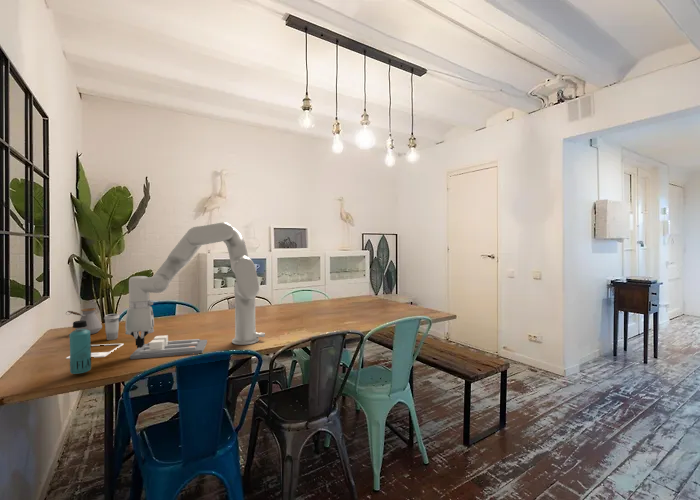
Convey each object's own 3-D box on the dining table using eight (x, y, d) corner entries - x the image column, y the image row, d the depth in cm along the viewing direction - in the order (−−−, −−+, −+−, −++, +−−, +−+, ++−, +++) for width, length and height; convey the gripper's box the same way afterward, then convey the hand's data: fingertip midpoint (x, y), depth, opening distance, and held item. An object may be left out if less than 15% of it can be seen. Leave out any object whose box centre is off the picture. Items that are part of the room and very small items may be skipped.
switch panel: (207, 342, 170) (207, 337, 170) (202, 353, 154) (202, 347, 153) (142, 347, 162) (142, 341, 162) (130, 359, 146) (130, 353, 146)
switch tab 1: (168, 343, 162) (167, 335, 162) (166, 346, 159) (165, 337, 158) (156, 344, 161) (156, 336, 161) (153, 347, 157) (153, 338, 157)
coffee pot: (85, 330, 192) (84, 303, 192) (107, 330, 193) (106, 303, 193) (55, 341, 171) (55, 311, 171) (80, 341, 172) (79, 310, 172)
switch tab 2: (164, 348, 156) (164, 339, 156) (162, 350, 152) (162, 341, 152) (152, 349, 154) (151, 340, 154) (149, 351, 151) (149, 342, 150)
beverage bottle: (74, 379, 125) (73, 323, 124) (66, 375, 128) (65, 321, 128) (95, 373, 130) (94, 320, 130) (87, 370, 134) (86, 318, 133)
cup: (120, 339, 175) (119, 315, 175) (103, 341, 172) (103, 317, 171) (119, 336, 181) (119, 313, 181) (104, 338, 177) (103, 314, 177)
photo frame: (65, 357, 146) (89, 344, 164) (66, 359, 146) (89, 346, 164) (104, 355, 149) (123, 343, 167) (104, 357, 149) (123, 345, 167)
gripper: (160, 302, 156) (161, 343, 157) (122, 304, 152) (123, 345, 153) (156, 305, 149) (157, 348, 150) (116, 307, 145) (117, 351, 146)
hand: (140, 346), depth 151 cm, fingers closed
